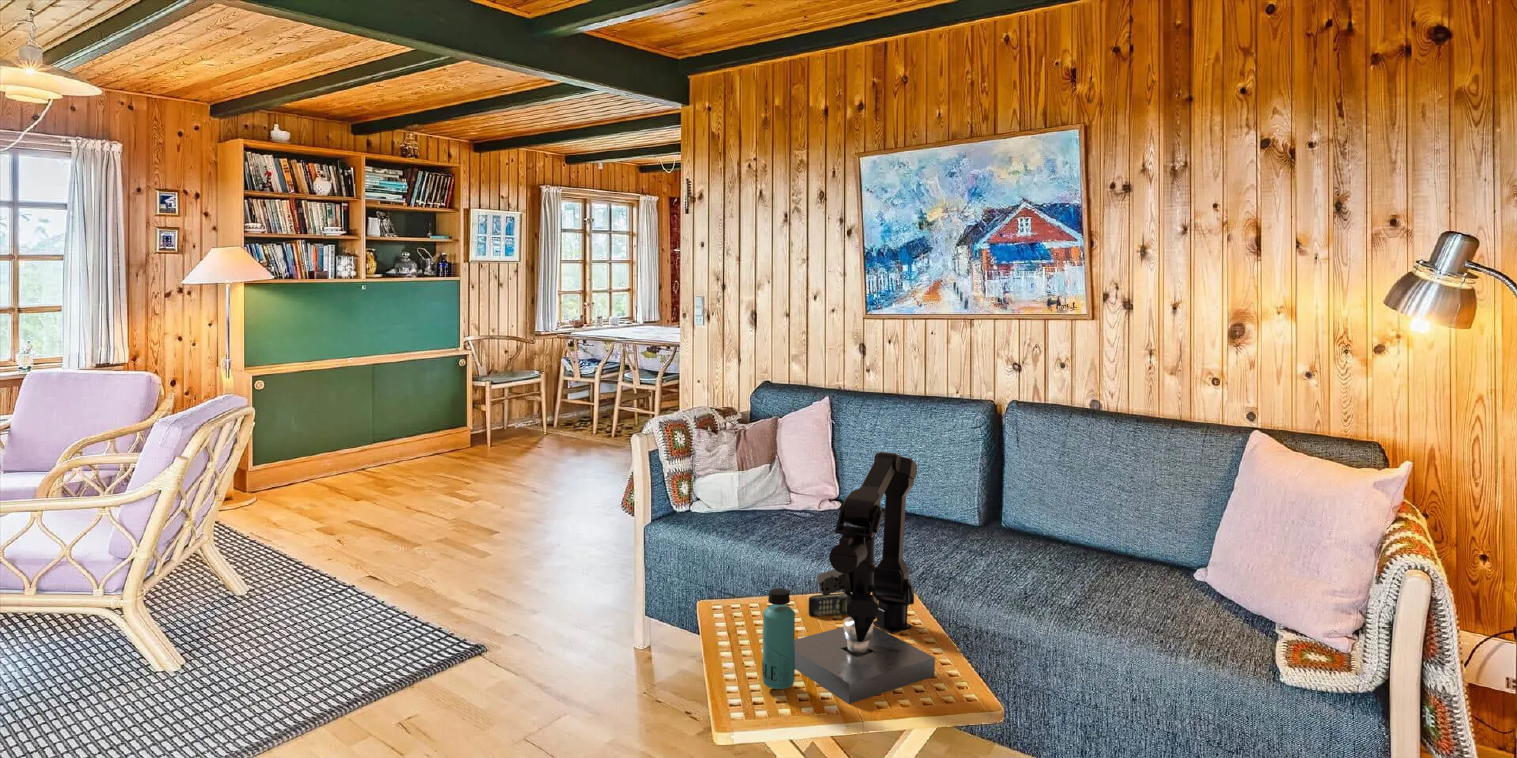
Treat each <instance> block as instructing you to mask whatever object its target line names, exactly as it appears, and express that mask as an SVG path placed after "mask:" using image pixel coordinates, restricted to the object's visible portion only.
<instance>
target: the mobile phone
mask: <svg viewBox="0 0 1517 758" xmlns="http://www.w3.org/2000/svg"><path fill="white" fill-rule="evenodd" d="M847 597H848V596H847V595H846V594H845V593H844V592H839V593H838V592H837V593H830V594H829V595H827V596H823V595H822V594H814V595H811V596H809V597H808V615H809V616H810V617H825V616H824V615H827V616H838V615H837V614H840V615H839V616H843V614H845V615H844V616H846V615H847V613H846V598H847ZM820 615H821V616H820ZM822 615H823V616H822ZM847 616H848V615H847Z"/></svg>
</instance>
